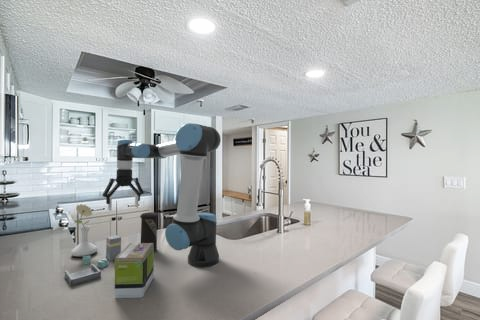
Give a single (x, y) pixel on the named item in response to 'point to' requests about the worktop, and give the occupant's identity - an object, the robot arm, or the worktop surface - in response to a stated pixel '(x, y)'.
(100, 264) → the clip
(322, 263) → the worktop surface
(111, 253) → the grey box with stripe
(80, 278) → the grey square tray
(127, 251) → the tea box
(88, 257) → the clip
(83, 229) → the flower in vase
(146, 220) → the container
